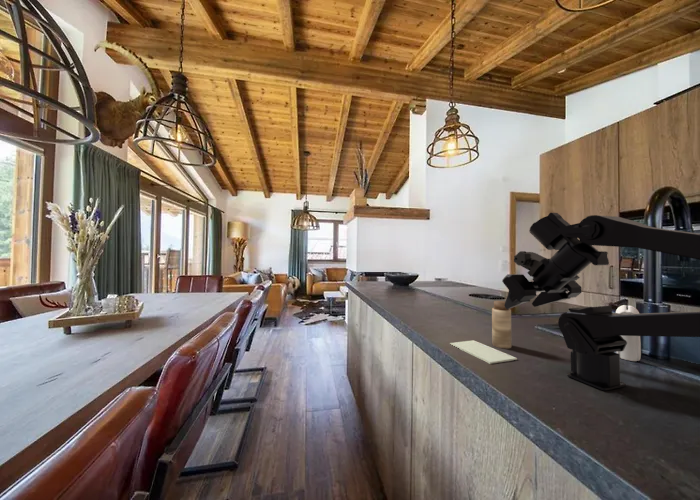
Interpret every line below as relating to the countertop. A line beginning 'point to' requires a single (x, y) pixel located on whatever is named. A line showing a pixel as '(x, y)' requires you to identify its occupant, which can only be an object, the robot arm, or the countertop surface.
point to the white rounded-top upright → (630, 338)
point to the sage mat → (483, 352)
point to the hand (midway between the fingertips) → (519, 306)
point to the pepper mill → (501, 325)
